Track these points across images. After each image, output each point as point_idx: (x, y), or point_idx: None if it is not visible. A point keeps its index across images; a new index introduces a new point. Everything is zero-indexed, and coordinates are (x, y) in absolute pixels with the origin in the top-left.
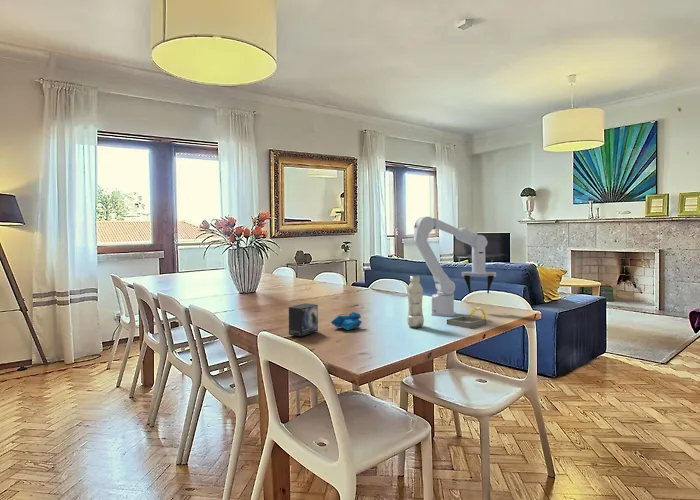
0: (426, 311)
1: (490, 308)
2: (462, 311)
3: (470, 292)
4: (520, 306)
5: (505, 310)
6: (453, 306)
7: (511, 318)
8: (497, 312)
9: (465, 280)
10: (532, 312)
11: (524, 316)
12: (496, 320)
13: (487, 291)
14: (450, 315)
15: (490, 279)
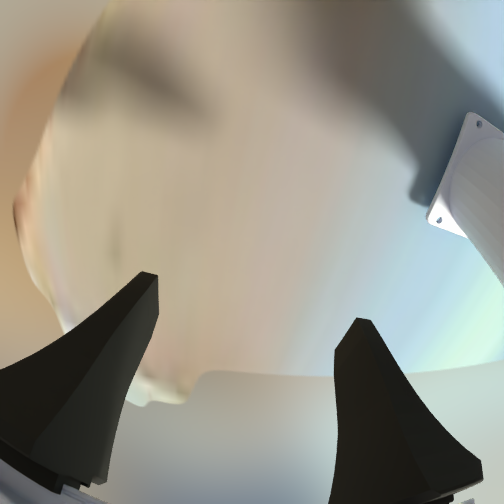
0: (481, 312)
1: (181, 355)
2: (333, 313)
3: (359, 321)
4: None
5: None
6: (487, 179)
7: (86, 104)
8: None
9: (464, 448)
10: (29, 263)
11: (37, 173)
12: (183, 20)
13: (145, 286)
14: (485, 120)
15: (4, 398)
